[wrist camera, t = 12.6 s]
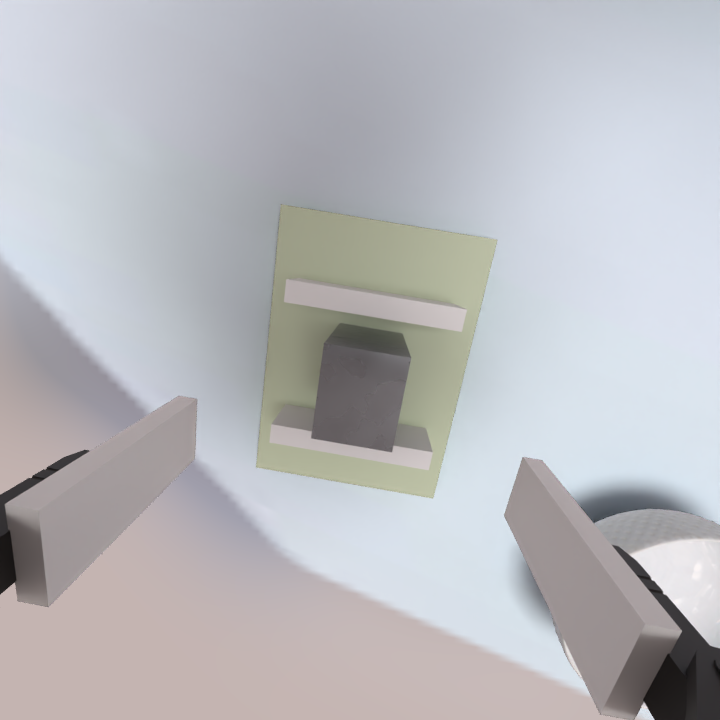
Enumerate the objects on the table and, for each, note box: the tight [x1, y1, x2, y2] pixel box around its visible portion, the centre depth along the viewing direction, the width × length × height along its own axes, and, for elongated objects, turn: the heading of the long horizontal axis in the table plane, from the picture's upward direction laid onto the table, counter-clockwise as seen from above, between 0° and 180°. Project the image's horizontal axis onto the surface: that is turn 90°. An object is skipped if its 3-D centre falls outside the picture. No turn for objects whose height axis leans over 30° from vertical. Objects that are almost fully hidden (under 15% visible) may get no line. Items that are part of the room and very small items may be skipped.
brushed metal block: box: [311, 323, 411, 452], centre depth 24 cm, size 6×5×8 cm
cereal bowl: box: [551, 509, 720, 709], centre depth 30 cm, size 17×17×7 cm
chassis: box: [256, 204, 497, 498], centre depth 27 cm, size 22×16×6 cm
